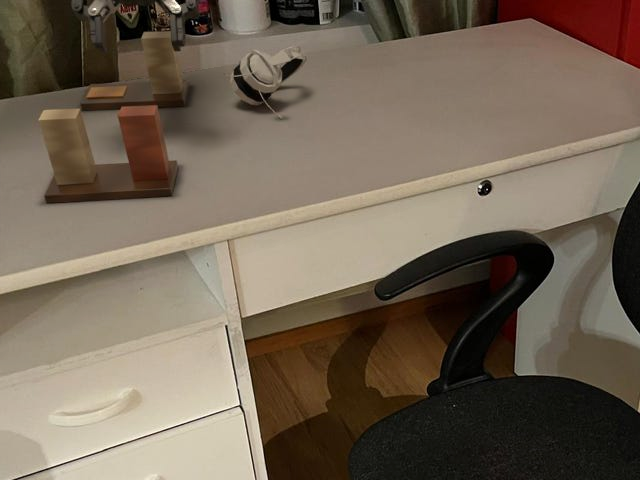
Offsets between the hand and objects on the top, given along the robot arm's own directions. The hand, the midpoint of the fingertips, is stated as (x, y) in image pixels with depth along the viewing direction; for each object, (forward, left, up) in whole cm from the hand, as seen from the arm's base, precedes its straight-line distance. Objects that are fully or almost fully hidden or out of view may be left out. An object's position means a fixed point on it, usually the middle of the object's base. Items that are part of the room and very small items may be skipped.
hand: (139, 49), depth 103 cm
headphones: (+12, +14, -13) cm, 23 cm away
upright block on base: (-6, +20, -13) cm, 25 cm away
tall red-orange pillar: (0, -9, -12) cm, 15 cm away
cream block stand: (-5, -9, -13) cm, 16 cm away
